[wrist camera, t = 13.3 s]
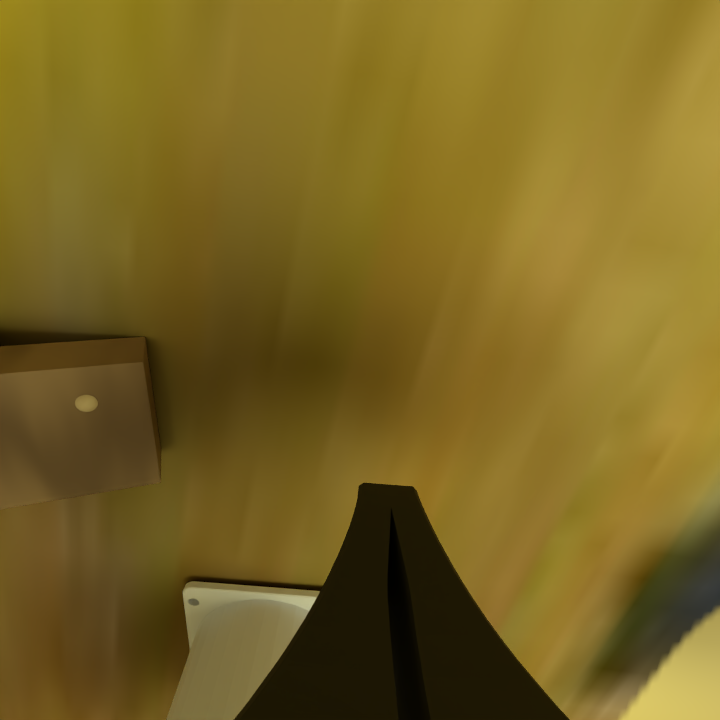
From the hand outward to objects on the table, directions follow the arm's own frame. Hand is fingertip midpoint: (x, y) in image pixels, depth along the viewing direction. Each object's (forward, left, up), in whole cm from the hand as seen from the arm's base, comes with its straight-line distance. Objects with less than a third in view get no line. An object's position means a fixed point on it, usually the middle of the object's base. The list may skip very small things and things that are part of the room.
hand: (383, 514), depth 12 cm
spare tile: (-1, +8, -5) cm, 10 cm away
